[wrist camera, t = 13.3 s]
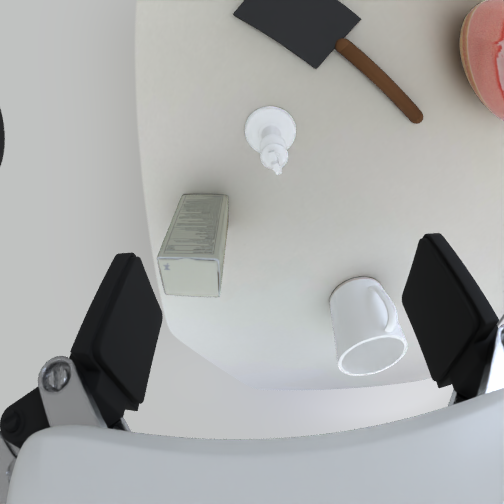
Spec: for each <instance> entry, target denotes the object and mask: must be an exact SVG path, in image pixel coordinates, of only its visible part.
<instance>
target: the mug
mask: <svg viewBox="0 0 504 504" xmlns="http://www.w3.org/2000/svg"><path fill="white" fill-rule="evenodd" d="M329 302H330V310H331V317H332V324H333V331H334V338H335V346H336V353H337V362H338V367H339V369H340V370H341V371H342V372H343V373H345V374H348V375H354V376H362V375H369V374H374V373H377V372H380V371H383V370H385V369H387V368H389V367H391V366H392V365H394V364H395V363H397V362H398V361H399V360H400V359H401V358H402V357H403V356H404V354H405V353H406V351H407V347H408V345H407V341H406V338H405V336H404V334H403V331H402V329H401V327H400V324H399V322H398V320H397V319H398V317H397V310H396V308H395V305H394V303H393V302H392V300H391V299H390V297H389V296H388V294H387V293H386V292H385V291H384V289H383V287H382V285H381V284H380V283H379V282H378V281H376V280H375V279H373V278H369V277H357V278H352V279H350V280H347V281H345V282H344V283H342V284H340V285H339V286H338V287H337V288H336V289H335V290H334V292H333V293H332V295H331V297H330V301H329Z"/></svg>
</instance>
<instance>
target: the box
mask: <svg viewBox="0 0 504 504" xmlns="http://www.w3.org/2000/svg"><path fill="white" fill-rule="evenodd" d="M227 230H228V196H227V195H211V194H208V195H200V194H196V195H182V197H181V200H180V202H179V204H178V207H177V209H176V212H175V214H174V216H173V219H172V221H171V224H170V226H169V229H168V231H167V233H166V236H165V238H164V241H163V244H162V246H161V249H160V251H159V254H158V256H157V261H158V267H159V272H160V277H161V281H162V285H163V289H164V293H165V294H166V295H174V296H191V297H220V292H221V283H222V273H223V264H224V255H225V246H226V238H227Z"/></svg>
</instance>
